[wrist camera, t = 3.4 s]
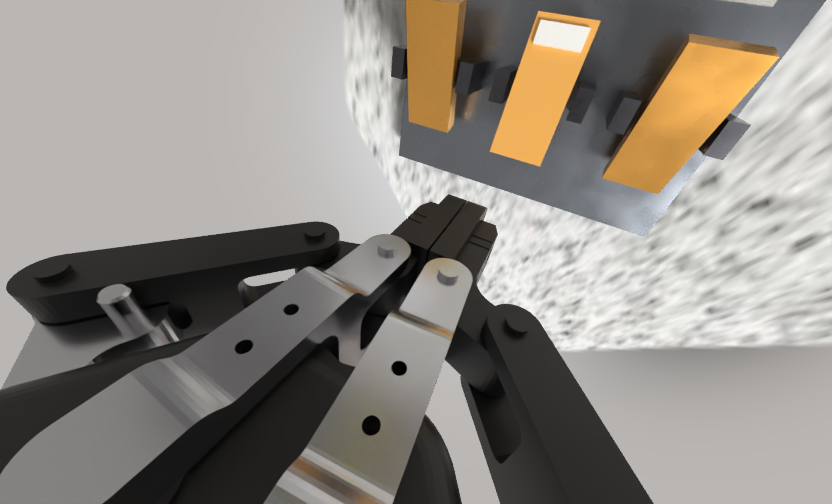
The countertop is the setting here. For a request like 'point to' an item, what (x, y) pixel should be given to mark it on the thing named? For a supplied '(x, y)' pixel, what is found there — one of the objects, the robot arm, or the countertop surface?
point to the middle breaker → (543, 85)
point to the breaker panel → (593, 95)
